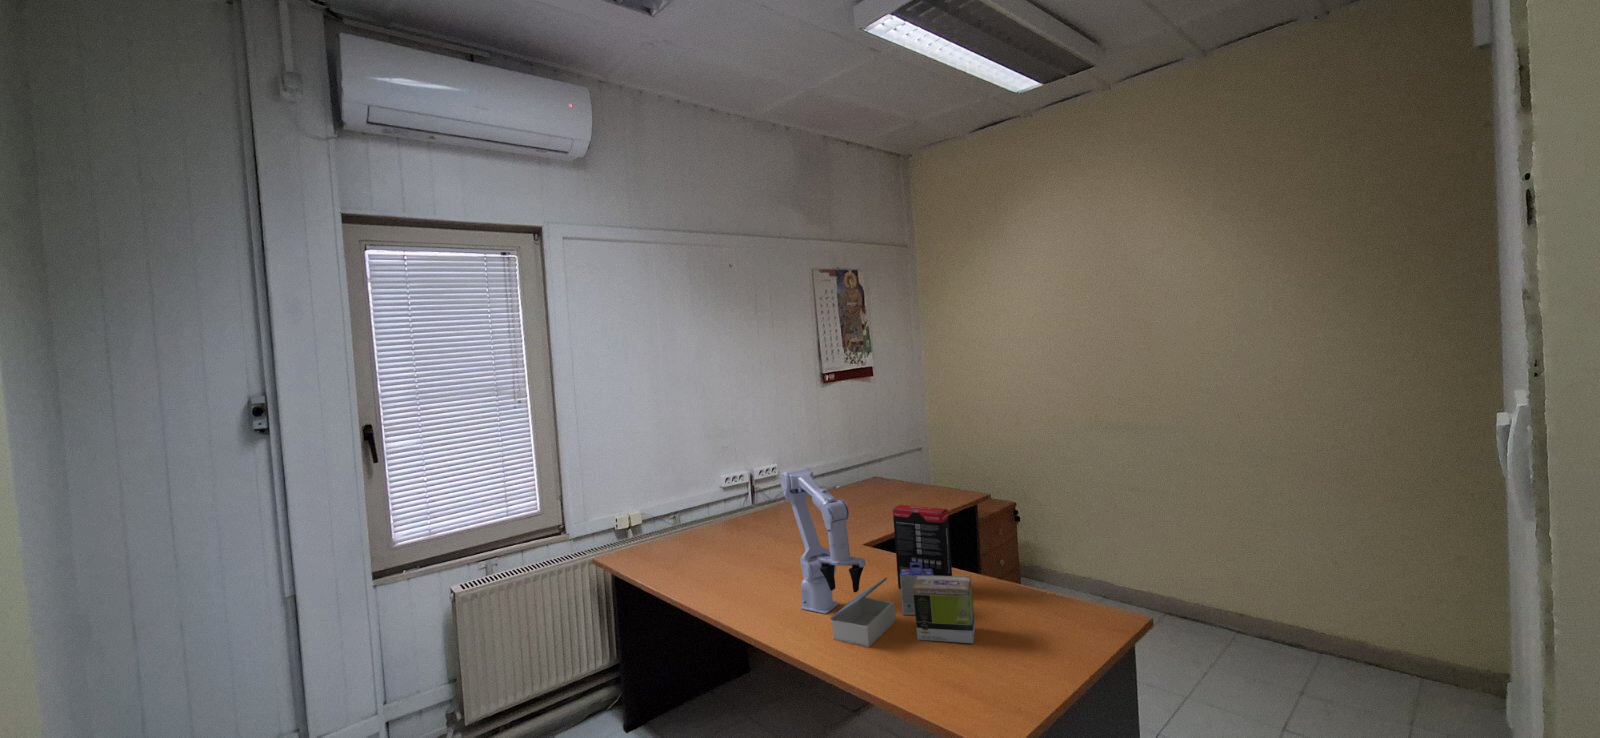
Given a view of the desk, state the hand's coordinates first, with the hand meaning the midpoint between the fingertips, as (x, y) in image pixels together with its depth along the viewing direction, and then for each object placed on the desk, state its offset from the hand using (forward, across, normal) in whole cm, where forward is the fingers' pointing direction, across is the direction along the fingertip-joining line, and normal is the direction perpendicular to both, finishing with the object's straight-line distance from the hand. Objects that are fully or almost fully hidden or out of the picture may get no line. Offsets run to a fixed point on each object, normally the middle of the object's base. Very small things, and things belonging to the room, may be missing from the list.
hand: (844, 590), depth 175 cm
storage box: (+11, +5, 0) cm, 12 cm away
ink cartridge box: (+11, +16, +16) cm, 25 cm away
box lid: (+2, +5, 0) cm, 5 cm away
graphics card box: (+10, +13, +32) cm, 36 cm away
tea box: (+12, +27, +6) cm, 30 cm away
